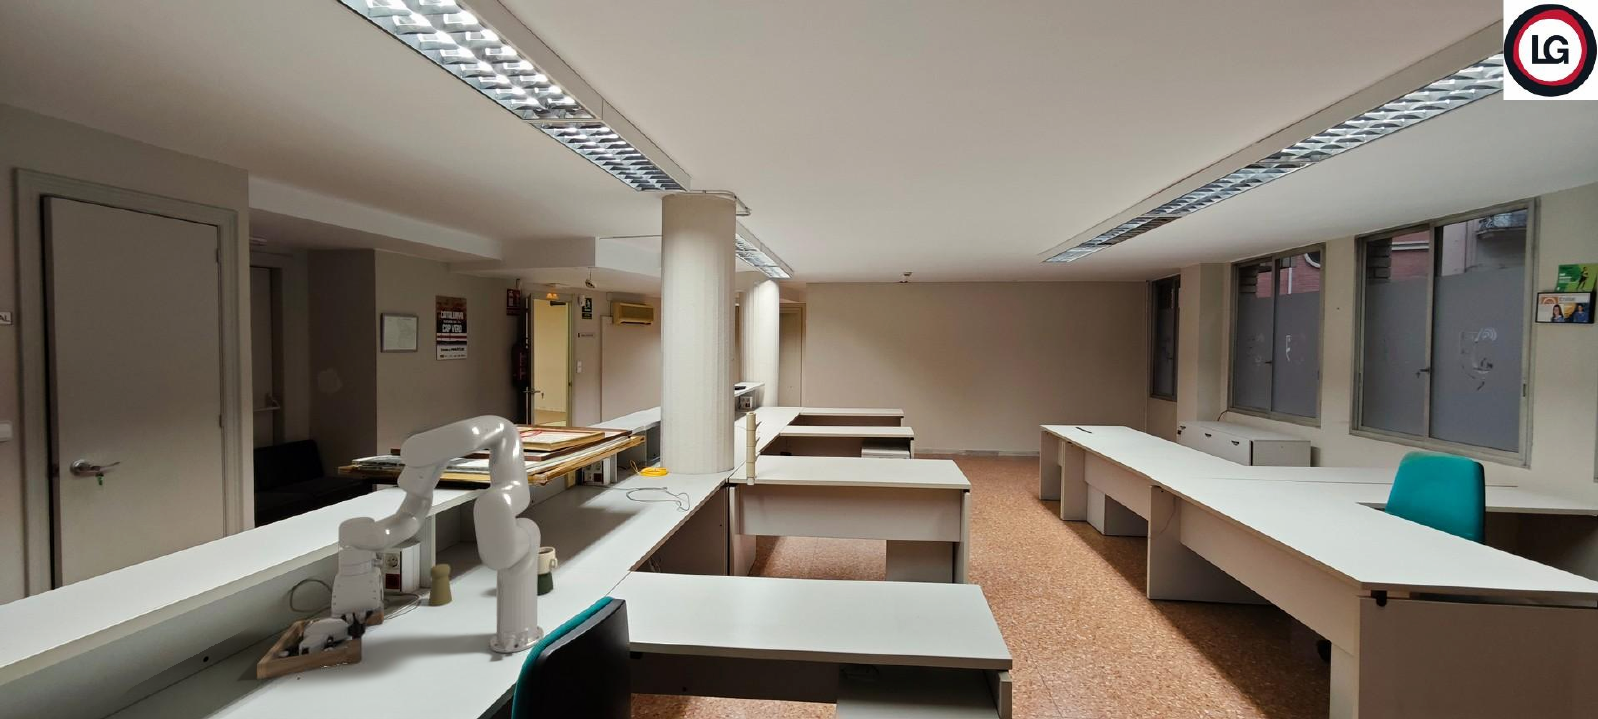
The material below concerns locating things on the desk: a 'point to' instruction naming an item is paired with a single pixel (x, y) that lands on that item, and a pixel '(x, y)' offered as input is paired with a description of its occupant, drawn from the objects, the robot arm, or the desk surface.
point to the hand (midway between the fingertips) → (357, 637)
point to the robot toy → (319, 637)
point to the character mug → (545, 569)
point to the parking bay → (281, 666)
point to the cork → (440, 585)
